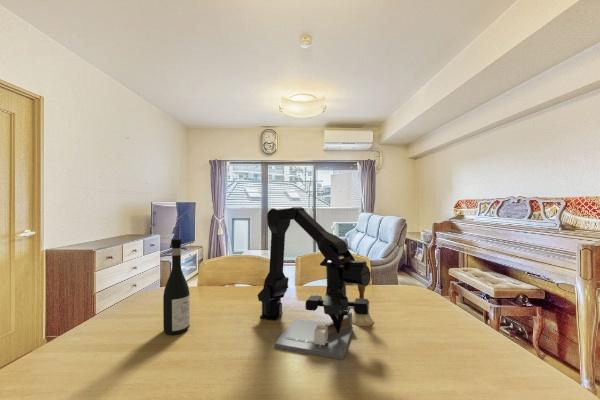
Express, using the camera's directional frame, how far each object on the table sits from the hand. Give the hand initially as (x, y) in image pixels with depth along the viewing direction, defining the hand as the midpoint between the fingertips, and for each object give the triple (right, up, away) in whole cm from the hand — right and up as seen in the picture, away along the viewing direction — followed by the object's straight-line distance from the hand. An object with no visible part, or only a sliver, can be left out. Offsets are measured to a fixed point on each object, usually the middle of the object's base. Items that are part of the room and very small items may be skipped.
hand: (338, 332), depth 86 cm
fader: (-6, -1, -4) cm, 7 cm away
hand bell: (+10, -3, +14) cm, 17 cm away
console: (-7, -2, +1) cm, 7 cm away
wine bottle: (-52, -3, +7) cm, 53 cm away
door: (0, -1, +4) cm, 4 cm away
